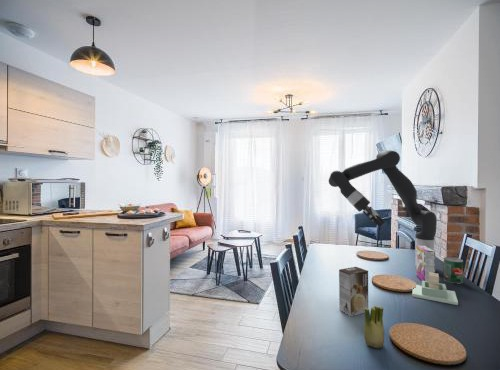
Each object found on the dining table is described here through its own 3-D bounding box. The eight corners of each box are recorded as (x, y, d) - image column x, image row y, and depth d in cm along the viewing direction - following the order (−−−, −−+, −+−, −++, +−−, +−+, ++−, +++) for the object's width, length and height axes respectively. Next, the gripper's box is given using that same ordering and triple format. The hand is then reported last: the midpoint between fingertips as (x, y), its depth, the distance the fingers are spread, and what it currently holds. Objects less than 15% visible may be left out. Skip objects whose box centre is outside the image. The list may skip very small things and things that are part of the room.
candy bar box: (415, 276, 145) (415, 245, 145) (425, 276, 144) (425, 245, 144) (424, 283, 134) (424, 250, 134) (435, 284, 133) (435, 251, 133)
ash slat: (428, 290, 123) (428, 272, 123) (438, 291, 122) (438, 273, 121) (429, 293, 120) (429, 275, 120) (438, 295, 118) (438, 276, 118)
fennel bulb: (364, 347, 83) (364, 308, 83) (363, 339, 87) (363, 301, 87) (385, 352, 81) (385, 311, 80) (383, 343, 85) (384, 304, 85)
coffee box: (356, 305, 111) (356, 266, 111) (368, 312, 105) (369, 270, 105) (338, 309, 107) (338, 269, 107) (350, 317, 101) (350, 274, 101)
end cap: (412, 286, 130) (413, 277, 130) (454, 294, 122) (454, 284, 122) (412, 296, 119) (412, 286, 119) (458, 305, 111) (458, 294, 111)
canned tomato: (460, 285, 132) (461, 262, 132) (441, 280, 138) (441, 259, 138) (464, 281, 138) (464, 259, 137) (445, 277, 144) (446, 256, 143)
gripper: (361, 196, 137) (386, 221, 131) (365, 195, 149) (389, 217, 143) (350, 206, 140) (374, 231, 134) (355, 204, 152) (378, 226, 146)
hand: (382, 224), depth 139 cm, fingers open, 8 cm apart
